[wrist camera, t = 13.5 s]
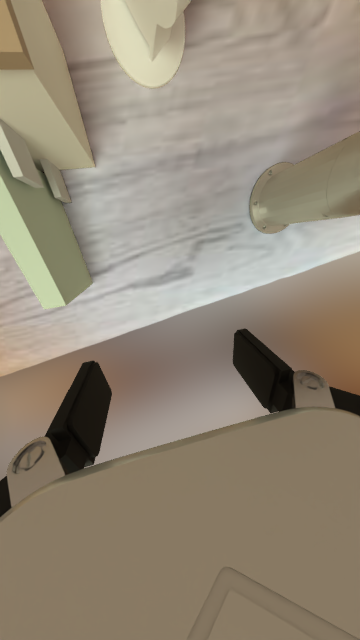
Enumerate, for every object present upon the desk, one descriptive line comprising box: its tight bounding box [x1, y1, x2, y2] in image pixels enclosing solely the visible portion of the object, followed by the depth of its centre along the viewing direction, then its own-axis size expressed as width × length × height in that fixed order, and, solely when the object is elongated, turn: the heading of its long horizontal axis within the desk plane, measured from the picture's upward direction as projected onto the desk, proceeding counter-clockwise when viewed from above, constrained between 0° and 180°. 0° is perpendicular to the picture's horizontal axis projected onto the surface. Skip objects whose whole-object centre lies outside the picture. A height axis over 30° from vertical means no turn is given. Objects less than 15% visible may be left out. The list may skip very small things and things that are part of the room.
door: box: [0, 150, 93, 309], centre depth 25 cm, size 4×18×14 cm, turn 7°
